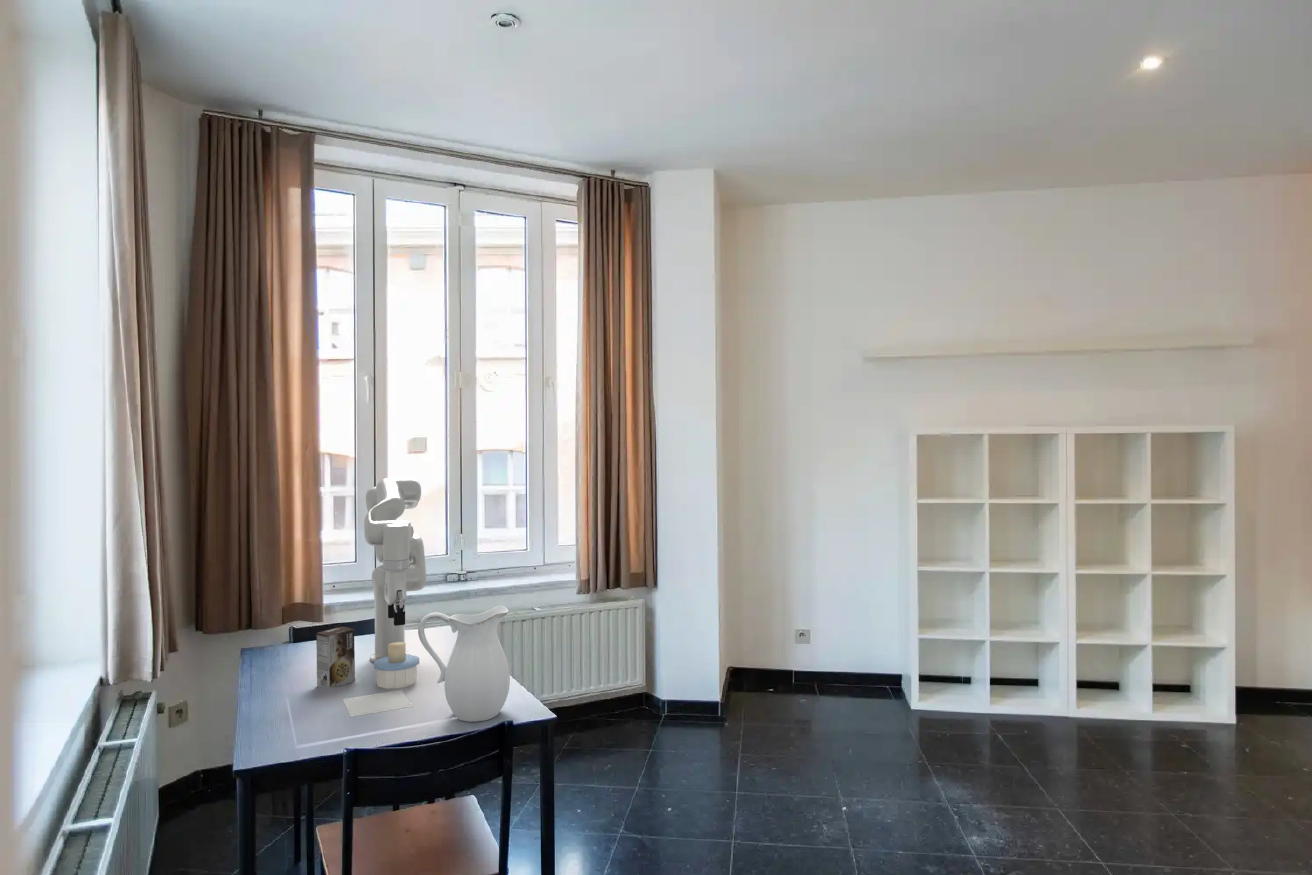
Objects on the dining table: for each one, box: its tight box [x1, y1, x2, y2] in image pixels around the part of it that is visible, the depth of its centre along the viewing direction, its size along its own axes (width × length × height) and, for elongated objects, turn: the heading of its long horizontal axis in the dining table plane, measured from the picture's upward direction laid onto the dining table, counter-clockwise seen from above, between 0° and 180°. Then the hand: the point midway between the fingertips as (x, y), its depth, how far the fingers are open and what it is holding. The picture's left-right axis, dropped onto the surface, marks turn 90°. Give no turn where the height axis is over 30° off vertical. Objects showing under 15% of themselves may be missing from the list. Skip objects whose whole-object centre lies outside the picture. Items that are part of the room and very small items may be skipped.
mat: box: [342, 689, 414, 718], centre depth 210 cm, size 16×16×1 cm
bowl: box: [376, 665, 418, 689], centre depth 228 cm, size 11×11×6 cm
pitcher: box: [417, 605, 511, 723], centre depth 202 cm, size 24×17×28 cm
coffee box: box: [315, 626, 356, 689], centre depth 229 cm, size 9×6×16 cm
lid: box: [373, 642, 420, 671], centre depth 228 cm, size 13×13×6 cm
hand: (396, 621), depth 229 cm, fingers open, 9 cm apart
